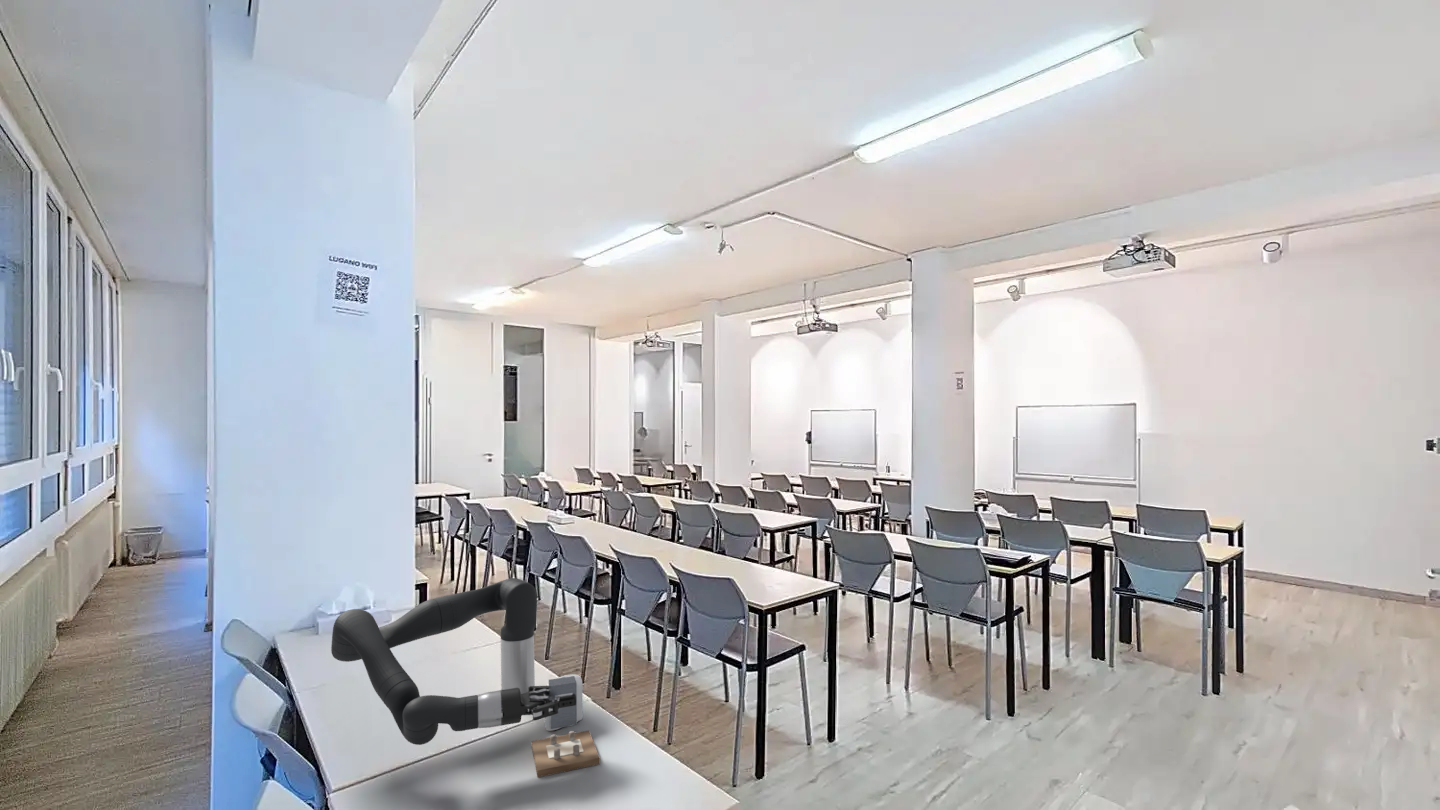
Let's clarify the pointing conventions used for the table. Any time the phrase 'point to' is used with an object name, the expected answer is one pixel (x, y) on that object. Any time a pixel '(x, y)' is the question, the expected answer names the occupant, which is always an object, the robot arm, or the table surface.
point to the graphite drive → (565, 714)
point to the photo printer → (579, 701)
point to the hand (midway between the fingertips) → (574, 696)
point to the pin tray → (564, 753)
